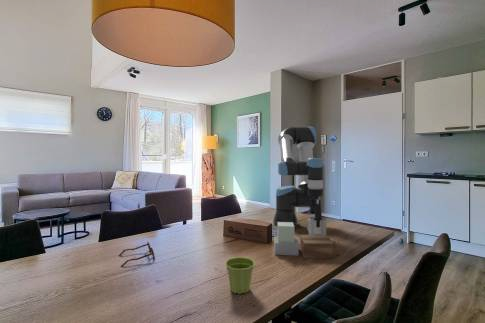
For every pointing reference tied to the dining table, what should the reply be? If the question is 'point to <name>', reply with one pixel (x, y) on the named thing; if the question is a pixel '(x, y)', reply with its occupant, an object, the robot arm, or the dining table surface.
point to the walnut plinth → (316, 246)
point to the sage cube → (285, 232)
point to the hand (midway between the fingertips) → (315, 229)
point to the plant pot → (240, 274)
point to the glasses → (139, 257)
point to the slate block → (286, 247)
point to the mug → (312, 226)
